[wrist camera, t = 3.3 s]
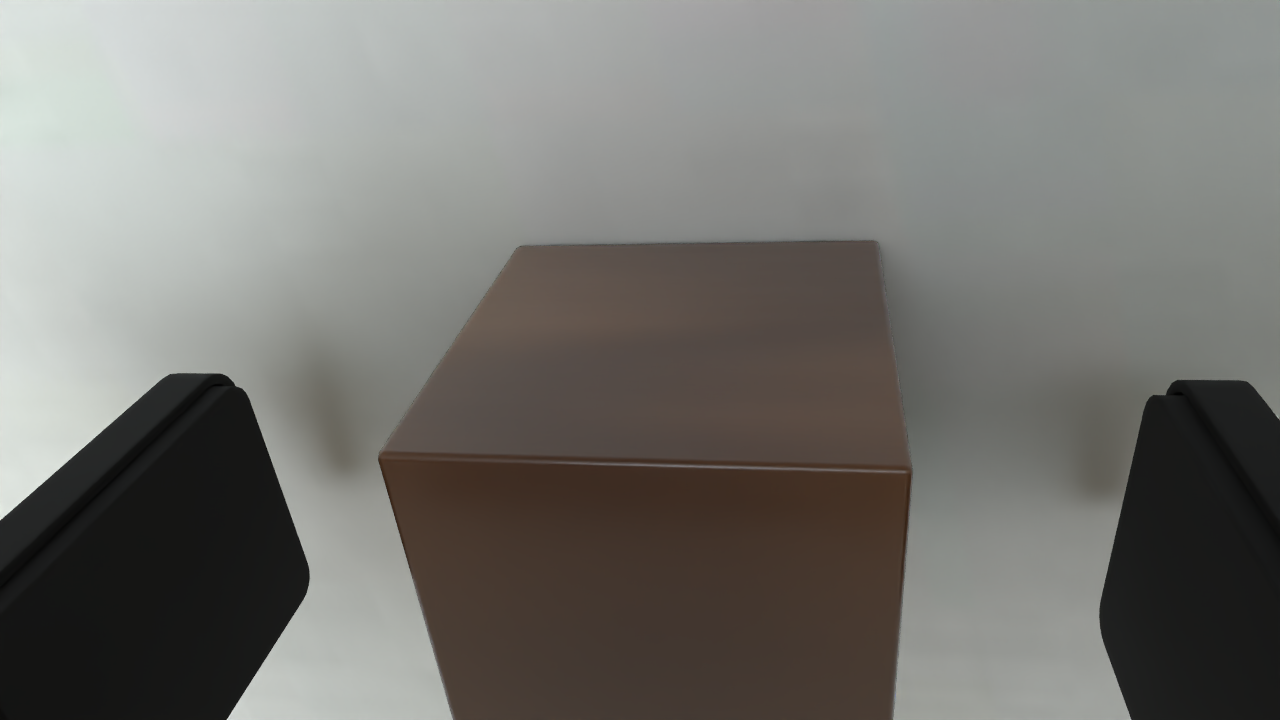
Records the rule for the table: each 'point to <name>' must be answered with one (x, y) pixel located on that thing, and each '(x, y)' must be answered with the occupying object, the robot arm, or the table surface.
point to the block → (663, 487)
